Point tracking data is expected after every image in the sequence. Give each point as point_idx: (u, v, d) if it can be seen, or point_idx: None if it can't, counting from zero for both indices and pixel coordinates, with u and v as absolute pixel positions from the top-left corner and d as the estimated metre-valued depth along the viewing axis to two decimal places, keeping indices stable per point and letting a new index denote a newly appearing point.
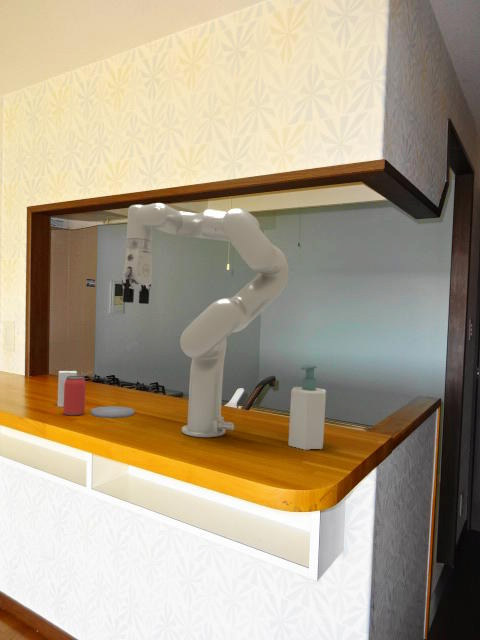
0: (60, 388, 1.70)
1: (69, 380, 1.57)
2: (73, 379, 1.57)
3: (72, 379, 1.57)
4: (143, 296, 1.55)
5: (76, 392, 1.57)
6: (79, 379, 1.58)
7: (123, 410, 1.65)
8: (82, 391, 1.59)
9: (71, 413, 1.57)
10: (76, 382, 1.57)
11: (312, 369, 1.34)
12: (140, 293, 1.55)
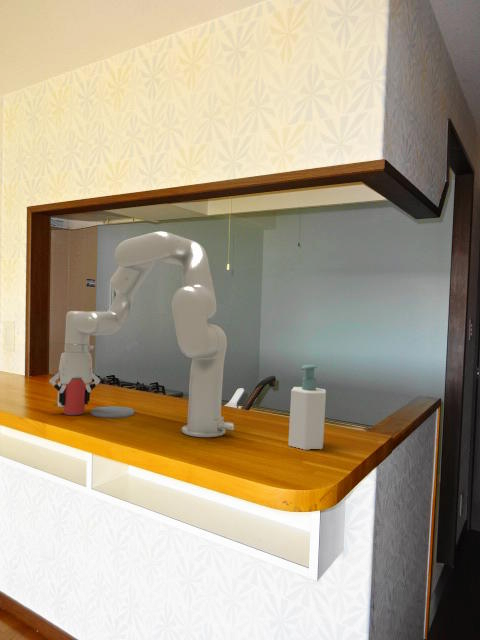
0: None
1: None
2: (73, 379, 1.57)
3: (72, 379, 1.57)
4: None
5: (76, 392, 1.57)
6: (79, 379, 1.58)
7: (123, 410, 1.65)
8: (82, 391, 1.59)
9: (71, 413, 1.57)
10: (76, 382, 1.57)
11: (312, 369, 1.34)
12: (64, 395, 1.58)
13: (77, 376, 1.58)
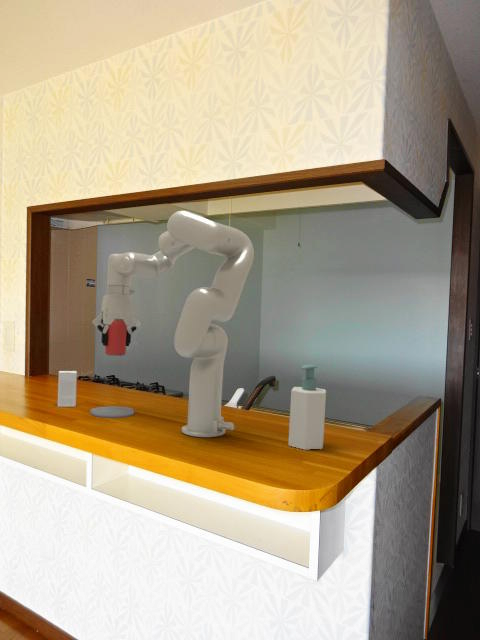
0: (60, 388, 1.70)
1: None
2: (115, 320, 1.61)
3: (115, 320, 1.61)
4: None
5: (119, 332, 1.61)
6: (121, 320, 1.62)
7: (123, 410, 1.65)
8: (124, 332, 1.62)
9: (114, 353, 1.61)
10: (118, 323, 1.61)
11: (312, 369, 1.34)
12: None
13: (119, 317, 1.62)
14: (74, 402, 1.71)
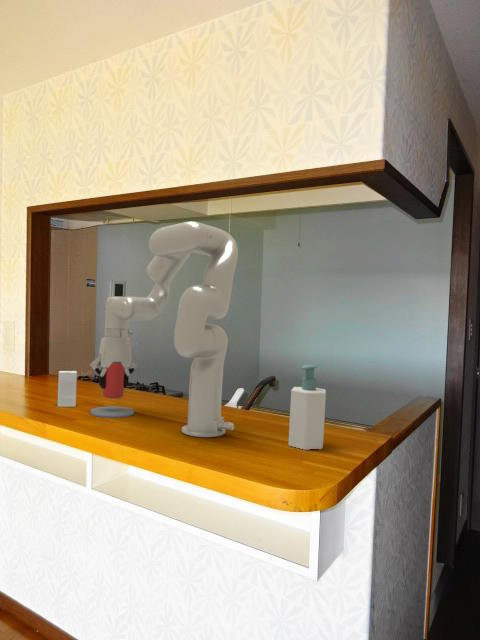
0: (60, 388, 1.70)
1: None
2: (113, 363, 1.61)
3: (112, 363, 1.61)
4: None
5: (116, 375, 1.61)
6: (119, 363, 1.62)
7: (123, 410, 1.65)
8: (122, 375, 1.62)
9: (111, 396, 1.61)
10: (116, 366, 1.61)
11: (312, 369, 1.34)
12: None
13: (117, 360, 1.62)
14: (74, 402, 1.71)
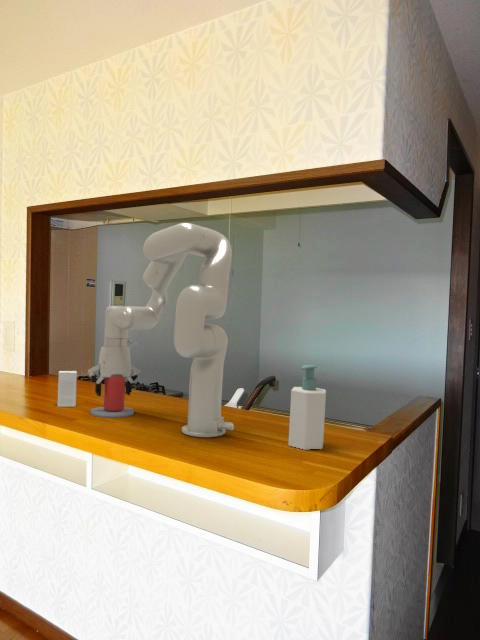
0: (60, 388, 1.70)
1: (110, 377, 1.61)
2: (114, 376, 1.61)
3: (113, 376, 1.61)
4: None
5: (117, 389, 1.61)
6: (119, 376, 1.62)
7: (123, 410, 1.65)
8: (122, 388, 1.63)
9: (112, 409, 1.61)
10: (117, 379, 1.61)
11: (312, 369, 1.34)
12: None
13: (117, 370, 1.62)
14: (74, 402, 1.71)
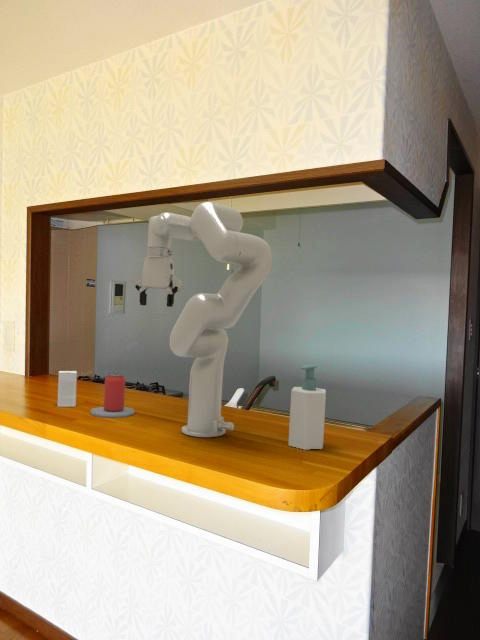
0: (60, 388, 1.70)
1: (110, 377, 1.61)
2: (114, 376, 1.61)
3: (113, 376, 1.61)
4: (144, 298, 1.65)
5: (117, 389, 1.61)
6: (119, 376, 1.62)
7: (123, 410, 1.65)
8: (122, 388, 1.62)
9: (112, 409, 1.61)
10: (117, 379, 1.61)
11: (312, 369, 1.34)
12: (143, 295, 1.64)
13: (154, 279, 1.62)
14: (74, 402, 1.71)
